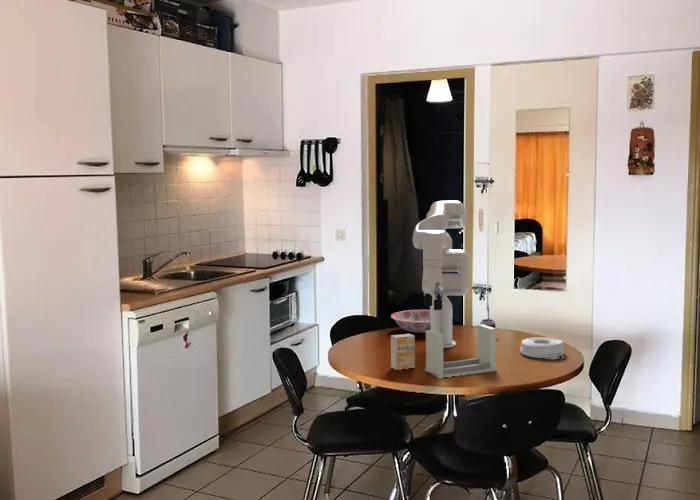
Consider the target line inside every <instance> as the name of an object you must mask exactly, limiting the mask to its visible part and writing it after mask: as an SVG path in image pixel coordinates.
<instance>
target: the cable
mask: <svg viewBox="0 0 700 500" xmlns="http://www.w3.org/2000/svg"><path fill="white" fill-rule="evenodd" d="M564 346H565V345H564V342H563V341H562V340H561V339H556V338H552V337H539V336H538V337H527V338H524V339H522V340H521V344H520V348H519V352H520V354H522V355H523V356H527V357H530V358H536V359H542V358H545V359H544V360H555V359H557V360H558V359H560V358H561V360H563V359H565V358H566V357H565V356H564V351H565V348H564ZM560 356H561V357H560Z"/></svg>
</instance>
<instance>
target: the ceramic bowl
mask: <svg viewBox="0 0 700 500" xmlns="http://www.w3.org/2000/svg"><path fill="white" fill-rule="evenodd" d="M453 316H454V315H452V318H453ZM390 318H391V319H392V320H394V321H395V322H396V324H397V325H398V326H399V327H400V328H401V329H402V330H404V331H407V332H410V333H416V334H417V333H418V334H426V330H430V309H410V310H409V309H407V310H402V311H401V310H400V311H397V312H393V313H391V315H390Z"/></svg>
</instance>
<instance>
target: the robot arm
mask: <svg viewBox="0 0 700 500" xmlns="http://www.w3.org/2000/svg"><path fill="white" fill-rule="evenodd" d="M467 221H468V219H467V211H466V207H465V206H464V204H463V203H462V201H459V200H439V201H435V202H433V203H432V204H431V206H430V209H429V211H428V212H427V213H426V218H424V219H423V220H421V221H419V222H418V223H417V224H416V225H415V228H414V230H413V235H412V244H413V247H414V248H415V249H417V250H422V268H423V271H422V280H421V281H422V282H421V285H422V286H421V289H422V292H423V298H424V299H423V301H424V302H423V303H424V304H423V306H424V307H429V308H430V309H429V310H430V330H433V331H435V332H438V333H440V334H443V349H447V348H448V349H449V348H454V347H456V345H457V342H456V341H455V340H453V317H452V316H453V304H452V302H451V301H450V299H449V298H448V296H466V295H467V294H468V292H469V288H470V256H469V254H468V252H467V251H466V250H464V249H453V239H452V237H451V235H450V234H449V232H447V231H446V230H447V229H462V228H463V229H464V227H465V226H466V225H467ZM448 272H450V273H448ZM451 272H452V273H451ZM453 272H454V273H453ZM456 272H457V273H456Z"/></svg>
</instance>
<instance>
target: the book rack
mask: <svg viewBox="0 0 700 500" xmlns="http://www.w3.org/2000/svg"><path fill="white" fill-rule="evenodd" d="M476 326H477V327H476V328H477V329H476V330H477V333H476V334H477V342H476V343H477V345H476V346H477V347H476V348H477V357H475V358H469V359H461V360H454V361H453V360H452V361H444V348H443V334H440V333H438V332H435V331H433V330H426V333H425V368H424V372H425V371H426V372H425V373H427V372H428V373H427V374H429V373H431V374H433V375H435V376H436V377H435V376H434V377H435V378H437V377H438V378H437V379H439V378H441V379H444V378H443V377H448V378H453V377H452V376H455V377H461V376H460V375H462V376H469V375H468V374H470V375H476V373H477V374H483V372H484V373H490V372H496V371H498V367H497V365H496V364H497V363H496V362H497V359H496V358H497V357H496V356H497V353H496V352H497V350H496V349H497V348H496V347H497V346H496V345H497V343H496V342H497V338H496V336H497V335H496V334H497V333H496V331H497V328H496V327H495V328H493V327H490V326H487V325H484V324H480V323H479V324H477V325H476ZM431 374H430V375H431ZM433 375H432V376H433Z"/></svg>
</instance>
